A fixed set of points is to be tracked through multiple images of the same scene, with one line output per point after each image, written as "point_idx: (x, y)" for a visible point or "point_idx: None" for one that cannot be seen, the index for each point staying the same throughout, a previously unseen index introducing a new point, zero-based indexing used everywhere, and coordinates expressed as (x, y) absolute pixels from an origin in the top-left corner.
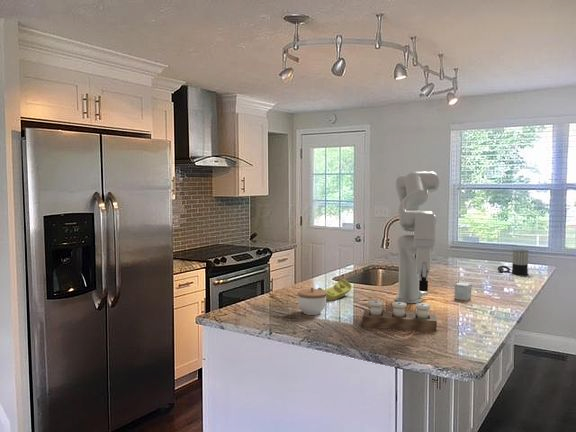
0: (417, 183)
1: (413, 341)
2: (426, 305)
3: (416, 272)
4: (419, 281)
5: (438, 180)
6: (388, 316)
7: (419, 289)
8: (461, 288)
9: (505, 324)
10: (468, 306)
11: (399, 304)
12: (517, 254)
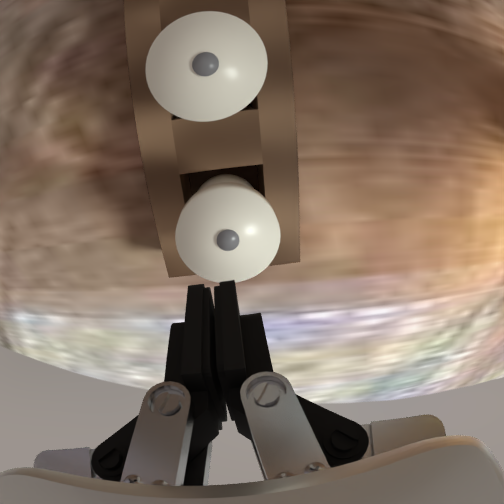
0: None
1: (22, 188)
2: (219, 262)
3: (31, 478)
4: (181, 367)
5: None
6: (160, 22)
7: (189, 293)
8: None
9: (329, 396)
10: (485, 309)
11: (175, 71)
12: None
